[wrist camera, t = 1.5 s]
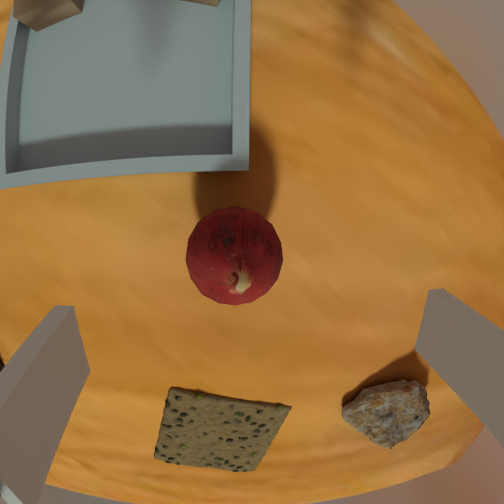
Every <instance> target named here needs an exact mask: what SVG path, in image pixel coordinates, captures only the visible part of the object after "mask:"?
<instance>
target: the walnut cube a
mask: <svg viewBox="0 0 504 504" xmlns="http://www.w3.org/2000/svg"><path fill="white" fill-rule="evenodd" d="M80 13H82V0H14V5H13V17H14V18H16V19H17V20H19V21H20V22H22V23H24V24H25V25H27V26H28V27H30V28H31V29H33V30H34V31H36V32H38V31H40V30H42V29H44V28H47V27H49V26H51V25H53V24H56V23H58V22H60V21H63V20H65V19H68V18H70V17H73V16H75V15H78V14H80Z"/></svg>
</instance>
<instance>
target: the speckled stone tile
mask: <svg viewBox="0 0 504 504" xmlns="http://www.w3.org/2000/svg"><path fill="white" fill-rule="evenodd" d="M165 404H166V406H165V408H164V415H163V419H162V422H161V428H160V431H159V438H158V441H157V445H156V448H155V453H154V458H155V459H158V460H162V461H165V462H166V463H174V464H177V465H187V466H197V467H209V468H215V469H222V470H230V471H233V472H238V471H243V472H246V471H254V470H255V469H256V467H257V466H258V465H259V463H260V461H261V460H262V458H263V456H264V455H265V453H266V451H267V449H268V447H269V446H270V444H271V442H272V441H273V439H274V438H275V436H276V434H277V433H278V430H279V429H280V427H281V425H282V424H283V422H284V420H285V418H286V416H287V415H288V412H289V411H290V410H291V408H292V407H291V406H284V405H281V404H270V403H263V402H252V401H245V400H241V399H232V398H227V397H221V396H215V395H208V394H204V393H200V392H193V391H189V390H184V389H181V388H175V387H171V388H170V390H169V391H168V397H167V400H166V403H165Z"/></svg>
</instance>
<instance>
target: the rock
mask: <svg viewBox="0 0 504 504" xmlns="http://www.w3.org/2000/svg"><path fill="white" fill-rule="evenodd" d="M341 412H342V417H343V418H344V419H345V422H348V423H350V425H352V426H353V427H354V428H355V429H356V430H357V431H358V432H362V433H363V434H364V435H365V436H369V437H370V440H371V442H373V443H375V444H377V445H381V446H383V447H388V448H390V449H392V447H393V446H395V445H396V444H397V443H399V442H402V441H404V440H406V439H408V438H409V437H410V436H411V435H412V434H413V433H414V432H415V431H417V430H418V429H419V428H420V427H421V425H422V424H423V423H424V421H425V420H426V419H427V418H428V417H429V415H430V410H429V401H428V400H427V392H426V389H425V388H424V387H423V386H422V385H421V384H420V383H419V382H417V381H415V380H412V381H406V380H403V379H402V380H400V381H397V382H389V383H386V384H382V385H376V386H373V387H368V388H365V389H363V390H362V391H361V392H360V393H359V395H358V396H357V397H356V398H355V399H354V400H353V401H351V402H350V403H348V404H347V405H345V406H344V407H343V409H342V411H341Z"/></svg>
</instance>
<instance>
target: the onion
mask: <svg viewBox="0 0 504 504" xmlns="http://www.w3.org/2000/svg"><path fill="white" fill-rule="evenodd" d="M282 262H283V256H282V248H281V242H280V239H279V237H278V235H277V233H276V231H275V229H274V227H273V225H272V224H271V223H270V222H268V221H267V220H266V219H265V218H263V217H262V216H261V215H260V214H258V213H257V212H254V211H251V210H247V209H244V208H240V207H237V206H234V207H228V208H222V209H216V210H215V211H213V212H212V213H211V214H209V215H208V216H206V217H205V218H203V219H202V220H200V221H199V222H198V223H197V225H196V226H195V228H194V230H193V232H192V233H191V235H190V237H189V239H188V246H187V253H186V264H187V267H188V271H189V274H190V277H191V279H192V281H193V282H194V284H195V285H196V287H197V288H198V289H199V291H200V292H201V294H203V295H204V296H206V297H208V298H210V299H212V300H214V301H216V302H218V303H222V304H229V305H240V304H245V303H250V302H253V301H254V300H256V299H258V298H259V297H261V296H263V295H264V294H266V293H267V292H268V291H269V290H270V288H271V287H272V286H273V285H274V283H275V282H276V281H277V280H278V277H279V273H280V270H281V266H282Z"/></svg>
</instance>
